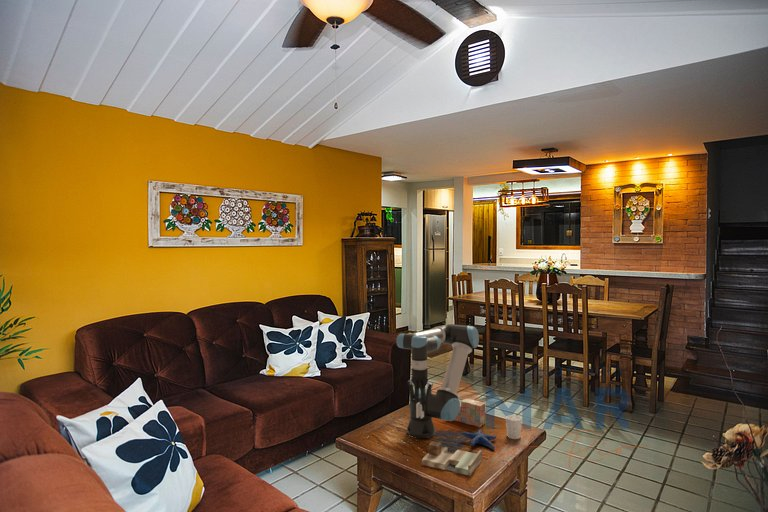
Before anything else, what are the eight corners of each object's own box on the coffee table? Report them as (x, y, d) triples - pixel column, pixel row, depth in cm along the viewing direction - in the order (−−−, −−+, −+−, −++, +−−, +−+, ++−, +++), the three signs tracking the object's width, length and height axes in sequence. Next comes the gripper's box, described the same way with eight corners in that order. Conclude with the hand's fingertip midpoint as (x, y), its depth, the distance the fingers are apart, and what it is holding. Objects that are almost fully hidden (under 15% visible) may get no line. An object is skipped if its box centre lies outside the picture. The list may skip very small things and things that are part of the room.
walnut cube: (428, 454, 216) (428, 444, 216) (432, 450, 220) (432, 441, 220) (437, 456, 214) (437, 446, 213) (441, 452, 217) (441, 442, 217)
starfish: (480, 455, 219) (480, 445, 219) (455, 441, 235) (455, 432, 235) (508, 446, 229) (508, 436, 229) (482, 433, 245) (482, 424, 245)
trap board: (422, 464, 211) (421, 454, 211) (436, 450, 226) (436, 441, 225) (470, 475, 200) (470, 465, 199) (481, 460, 214) (481, 450, 214)
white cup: (503, 434, 244) (503, 415, 244) (518, 433, 245) (518, 414, 245) (509, 440, 236) (508, 420, 236) (523, 439, 237) (523, 420, 237)
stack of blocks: (447, 418, 267) (447, 397, 267) (453, 415, 272) (452, 395, 272) (480, 427, 253) (480, 405, 253) (485, 424, 258) (485, 402, 258)
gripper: (402, 368, 220) (403, 417, 220) (430, 371, 213) (431, 422, 213) (409, 364, 226) (410, 412, 227) (436, 368, 219) (437, 417, 220)
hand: (420, 417), depth 220 cm, fingers closed
